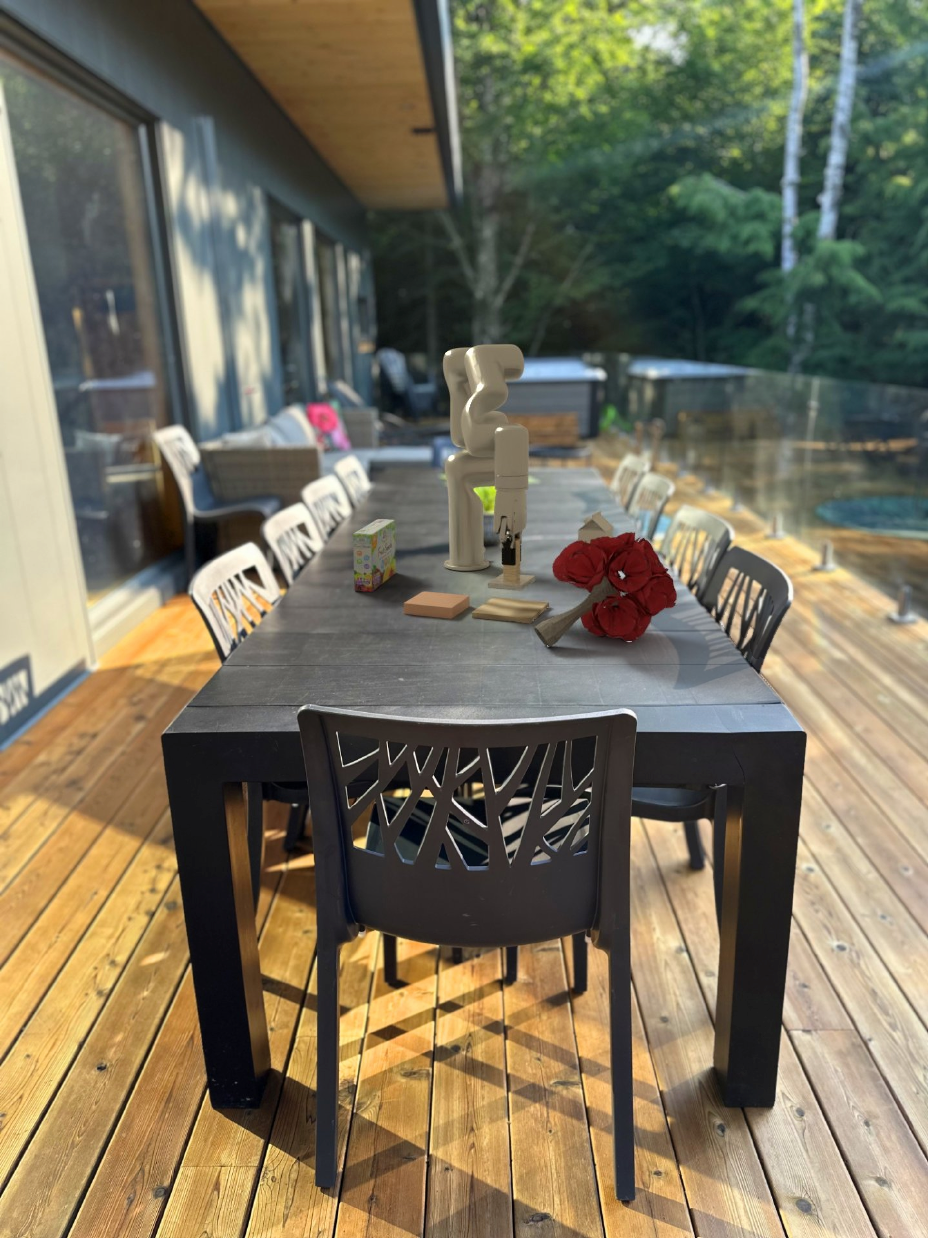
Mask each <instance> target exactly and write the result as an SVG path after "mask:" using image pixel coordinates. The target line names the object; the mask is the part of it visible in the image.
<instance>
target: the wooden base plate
mask: <svg viewBox="0 0 928 1238" xmlns="http://www.w3.org/2000/svg"><path fill="white" fill-rule="evenodd" d="M547 607H549V608H550V601H549V602H548V601H541V600H529V599H517V598H508V597H500V596H499V597H497V596H493V597H491V598H490V599H489V600H487V601H485V602H484V603H483V604H481V605H480V606H479V607H477V608H476V609H474V610H473V611H471V617H472V619H473V618H475V619H483V620H494V621H503V622H511V621H516V622H515V623H520V622H521V624H522V623H523V624H532V623H533V622H534V621H535V620H537V618H539V615H540V614H541V613H542V612H543V611H544V610H545V609H546V610H548V609H547ZM546 610H545V611H546ZM545 611H544V612H545ZM544 612H543V613H544ZM543 613H542V614H543ZM542 614H541V615H542ZM541 615H540V616H541ZM534 619H535V620H534ZM533 620H534V621H533ZM532 621H533V622H532ZM531 622H532V623H531Z"/></svg>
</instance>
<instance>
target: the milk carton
mask: <svg viewBox="0 0 928 1238" xmlns="http://www.w3.org/2000/svg"><path fill="white" fill-rule="evenodd" d="M582 522H583V523H584V525H582V526H581V527H580V528H579V529H578V530H577V531H578V533H577V534H578V535H577V541H578V540H582V541H584V542H585V541H586V542H587V543H590V540H591V539H596V538H598V537H600V538H601V537H606V536H608V537H610V538H611V537H614V525H612V523H610V522H609V521H608V519H606V518H605V517H604V516H603V515H602V510H601V509H599V510H597V511H596V512H594V513H593V514H592V513H591V516H590V515H588V516H587V517H586V518H585V519H583V520H582Z"/></svg>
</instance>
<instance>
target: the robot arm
mask: <svg viewBox="0 0 928 1238" xmlns="http://www.w3.org/2000/svg"><path fill="white" fill-rule="evenodd" d="M442 361H443V362H442V367H443V368H442V369H443V375H444V379H445V382H446V384H447V388H448V391H449V397H450V406H449V407H450V409H449V410H450V411H449V412H450V413H449V414H450V415H449V416H450V418H449V419H450V424H449V425H450V426H449V428H450V429H449V430H450V439H451V442H452V445H454V447H458V448H460V449H466V451H462V452H456V453H453V454H451V455H449V456H448V457H446V459H445V462H444V474H445V479H446V486H447V495H448V497H447V498H448V531H449V532H448V535H449V537H448V539H449V544H448V545H449V559H446V560H444V563H443V566H444V568H446V569H449V570H451V571H460V572H465V571H466V572H467V571H468V572H469V571H470V572H471V571H479V570H483V569H486V568H489V566H490V562H489V560H487V559H485V557H484V554H485V552H486V547H485V546H484V504H483V500H482V499H481V497H480V496H479V495H478V494H477V493H476V492H475V490H474V489H475V488H476V489H477V488H485V487H486V488H487V487H494V490H495V496H494V505H493V507H494V508H493V525H492V526H493V530H492V531H493V534H495V535H499V536H498V539H499V541H500V547H501V564H502V565H510V566H514V565H516V548H514V541H515V538H520V563H521V562H522V541H523V539H522V533H523V531H524V530H525V529H526V527H527V518H528V517H527V516H528V513H527V512H528V511H527V509H528V508H527V491H529V456H530V455H529V452H530V451H529V450H530V449H529V442H530V441H529V439H530V437H529V435H530V434H529V430H528V428H527V427H525V426H523V425H522V424H520V423H519V422H509V419H508V417H507V415H506V414H505V413H504V412H502V411H498V410H497V409H499V408H500V407H502V406H503V405H504V404H505V403H506V402H507V399H508V397H509V389H508V385H507V382H514V381H518V380H520V378H521V377H522V376H523V374H524V371H525V359H524V354H523V352H522V350H521V349H520V347H518V346H517V345H515V344H510V343H509V344H508V343H507V344H506V343H505V344H504V343H502V344H479V345H475V346H473V347H458V348H452V349H449V350H448V351H447V352H445V354H444V356H443V360H442ZM496 410H497V411H496ZM510 538H511V541H510Z"/></svg>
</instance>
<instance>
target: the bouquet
mask: <svg viewBox="0 0 928 1238" xmlns="http://www.w3.org/2000/svg"><path fill="white" fill-rule="evenodd" d="M551 567H552V574H553V577H554V578H556V580H557V581H559V582H563V583H568V584H570V585H573V586H574V587H577V588H580V589H583V590H587V592H589V594H588V596H587V597H586V598H585V599H584V600H583V601H582V602H581V603H579V604H578V605H576V606H575V607H574V608H572V609H569V610H568V611H564V612H562V613H560V614H557V615H555V616H553V617H550V618H548V619H545V620H543V621H541V622H539V624H537V625H535V626H534V627H533V629H534V631H535V633H536V635H537V637H538V638H539V639H540V641H541V643H543V645H544V646H545V645H548V646H549V648H550V647H552V646H553V645H555V644H556V643H558V642H559V641H560V640H561V639H562V637H563V636H564V635H565V634H566V633H567V632H568V631H569V630H570V628H571V627H573V625H574V624H575V623H576V622H577V621H578V620H579V619H580V621H581V624H582V626H583V627H584V629H586V630H587V631H588V632H589V633H591V634H592V635H594V636H597V637H602V636H601V635H607V636H608V637H609V638H615V639H618V638H621V640H622V639H623V640H625V641H632V642H631V643H634V642H635V641H637V640H638V639H640V638H641V637H642V636H643V635H644V634H645V633H646V631H647V629H648V627H649V625H650V624H651V623H652V618H653V617H655V616H656V615H658V614H659V613H661V612H662V611H663V610H664V609H671V608H674V607H675V606H676V604H677V603H676V601H677V599H678V597H677V595H678V593H677V590H676V587H675V583H674V579H673V577H672V576H671V574H670V573H668V571H669V568H668V567H665V566H664V564H663V562H661V561H660V557H659V555H658V554H657V552H656V551H655V550H654V547H653V545H652V543H651V542H649V540H648V539H646V538H645V537H642V538H641V536H639V537H638V538H636V532H632V531H629V532H628V531H627V532H624V533H621V534H618V535H617V536H615V537H614V536H613V537H611V538H610V537H608V536H606V537H601V538H600V537H598V538H596V539H591V540H590V543H587V542H586V541H585V542H584V541H582V540H578V539H577V540H575V541H573V542H571V543H570V544H568V545H567V546H565V547H564V548H563V549H562V551H561V552H560V553H559V555H558V556H556V558H554V561H553V563H552V566H551ZM620 572H621V573H622V574H623V577H622V576H621V574H620ZM621 593H624V595H622V594H621ZM623 640H622V641H623ZM625 641H624V642H625Z"/></svg>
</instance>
